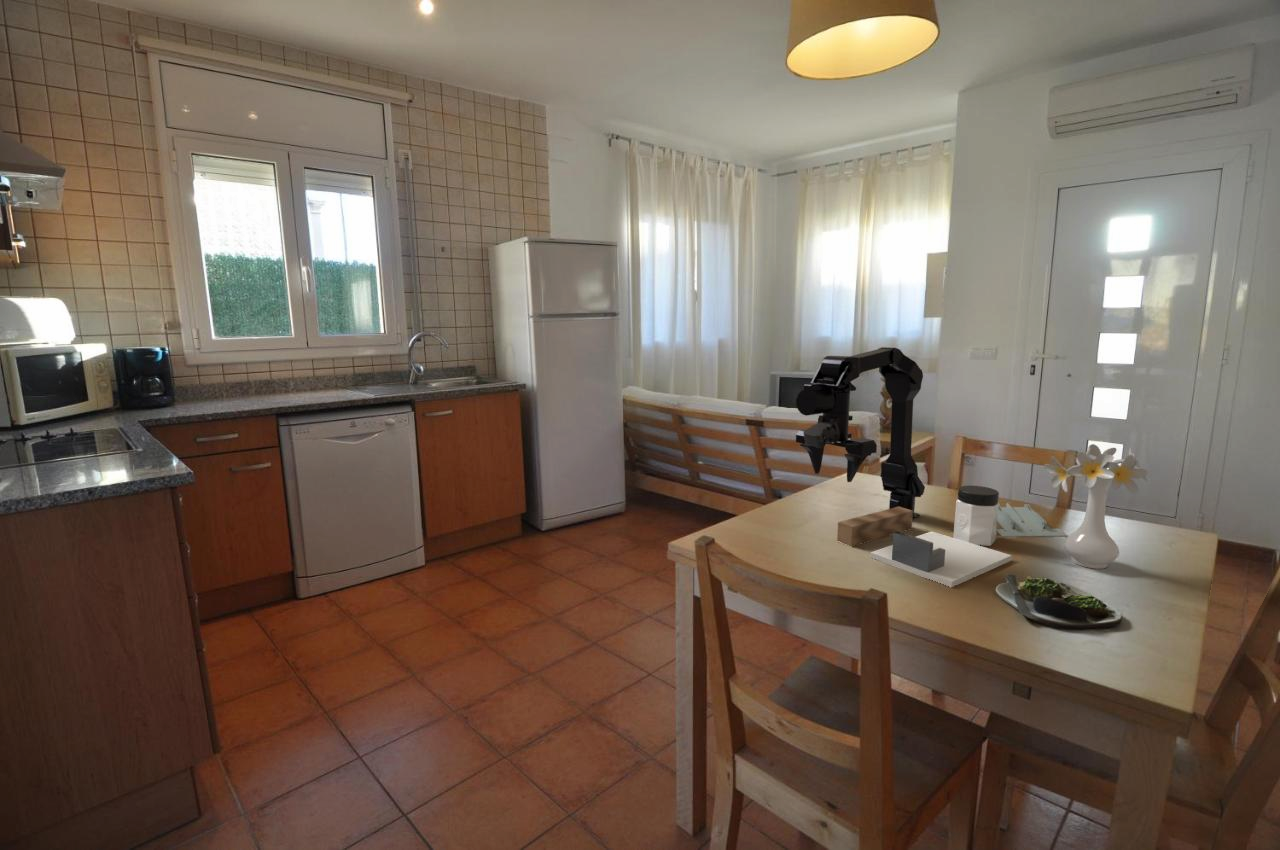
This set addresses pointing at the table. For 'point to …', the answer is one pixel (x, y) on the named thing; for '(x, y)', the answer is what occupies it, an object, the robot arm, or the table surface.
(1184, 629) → the table surface
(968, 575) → the mounting board
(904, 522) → the walnut rail
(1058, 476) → the flower vase
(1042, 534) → the pale green slanted stand
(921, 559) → the bracket
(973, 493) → the jar
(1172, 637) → the table surface
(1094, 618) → the salad plate
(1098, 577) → the table surface
